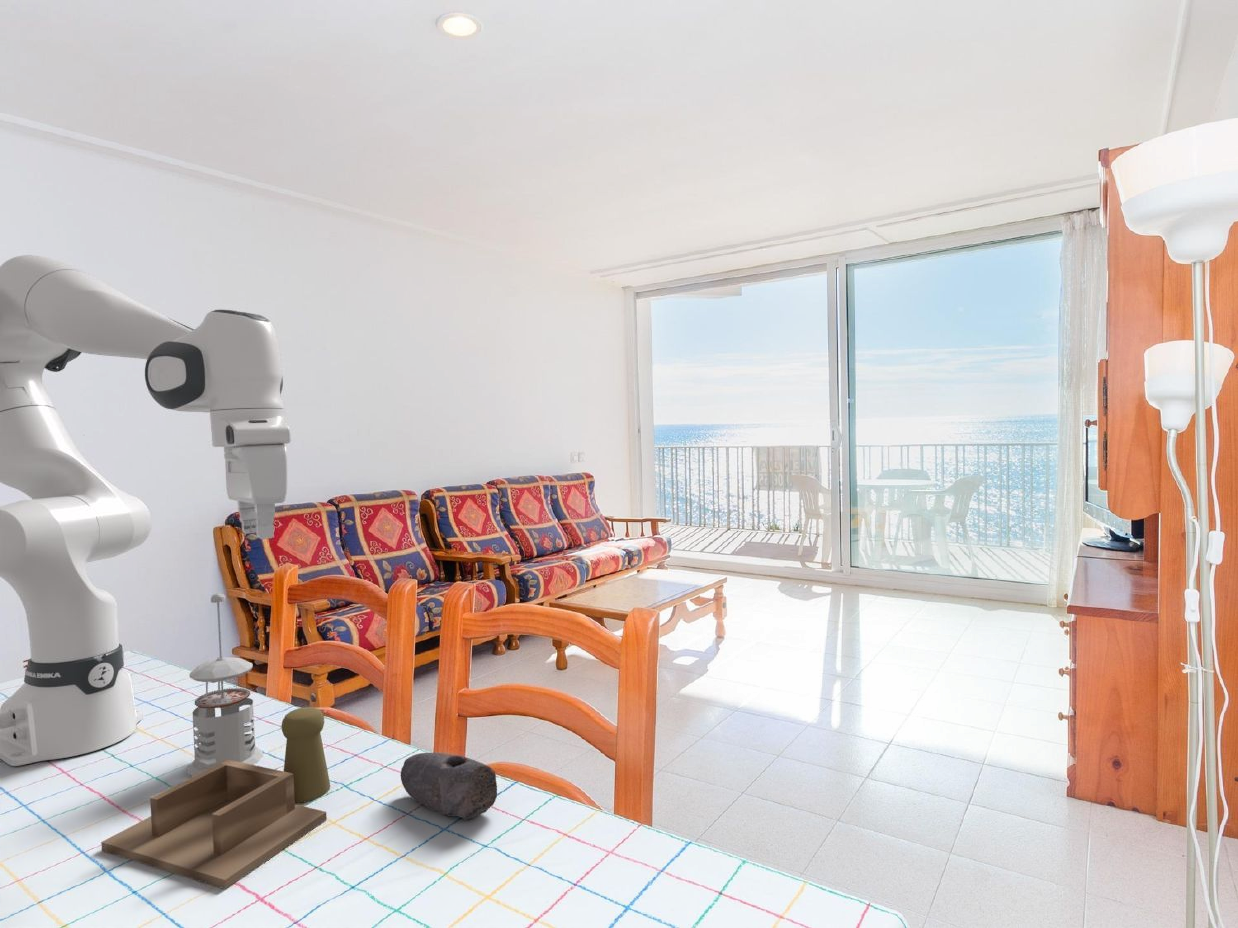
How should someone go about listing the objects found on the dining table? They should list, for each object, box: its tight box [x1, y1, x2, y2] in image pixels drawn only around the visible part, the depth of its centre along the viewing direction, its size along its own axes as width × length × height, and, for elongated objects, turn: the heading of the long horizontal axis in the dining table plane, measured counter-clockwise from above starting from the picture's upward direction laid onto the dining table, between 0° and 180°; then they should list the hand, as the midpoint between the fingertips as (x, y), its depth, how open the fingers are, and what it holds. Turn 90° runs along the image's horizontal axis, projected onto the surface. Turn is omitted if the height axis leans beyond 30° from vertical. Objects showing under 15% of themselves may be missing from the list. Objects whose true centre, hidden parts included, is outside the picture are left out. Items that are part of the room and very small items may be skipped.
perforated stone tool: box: [400, 752, 498, 821], centre depth 89 cm, size 15×5×7 cm, turn 57°
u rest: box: [100, 760, 327, 890], centre depth 84 cm, size 20×14×6 cm
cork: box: [280, 706, 331, 804], centre depth 94 cm, size 6×6×11 cm
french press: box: [187, 592, 264, 777], centre depth 103 cm, size 10×12×25 cm
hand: (257, 535), depth 94 cm, fingers open, 8 cm apart
